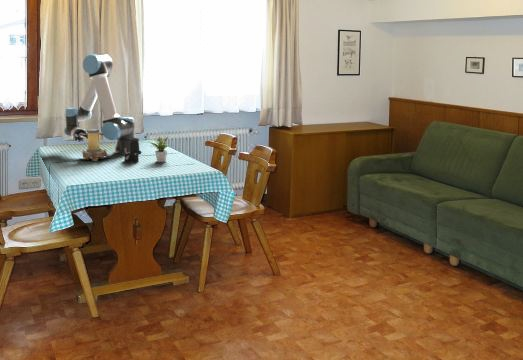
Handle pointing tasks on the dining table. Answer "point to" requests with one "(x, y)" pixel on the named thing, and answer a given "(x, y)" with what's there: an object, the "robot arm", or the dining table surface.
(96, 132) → the yellow thread spool
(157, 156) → the house plant
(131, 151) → the scope
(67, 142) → the dining table surface
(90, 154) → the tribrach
